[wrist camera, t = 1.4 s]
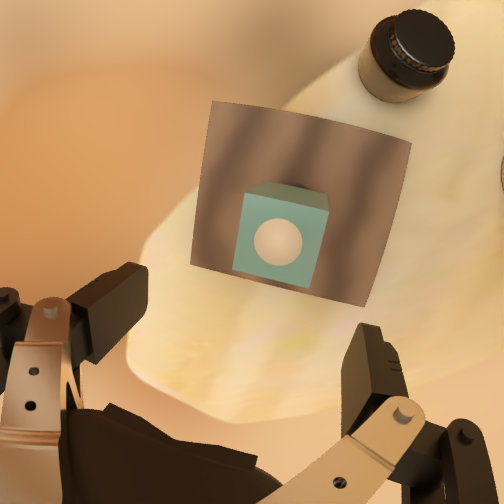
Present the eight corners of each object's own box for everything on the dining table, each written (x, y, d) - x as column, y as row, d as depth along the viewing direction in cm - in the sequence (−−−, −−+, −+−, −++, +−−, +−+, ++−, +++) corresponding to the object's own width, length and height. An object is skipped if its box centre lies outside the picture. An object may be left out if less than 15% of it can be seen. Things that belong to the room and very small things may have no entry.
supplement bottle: (399, 117, 27) (441, 103, 16) (345, 76, 27) (358, 39, 16) (431, 71, 24) (480, 40, 13) (378, 32, 24) (403, -19, 13)
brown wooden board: (406, 143, 28) (435, 143, 19) (362, 299, 34) (371, 343, 26) (218, 103, 30) (184, 91, 22) (196, 258, 37) (163, 290, 29)
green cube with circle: (327, 194, 24) (329, 212, 18) (312, 253, 26) (308, 289, 20) (264, 180, 25) (244, 192, 19) (253, 239, 27) (231, 270, 21)
